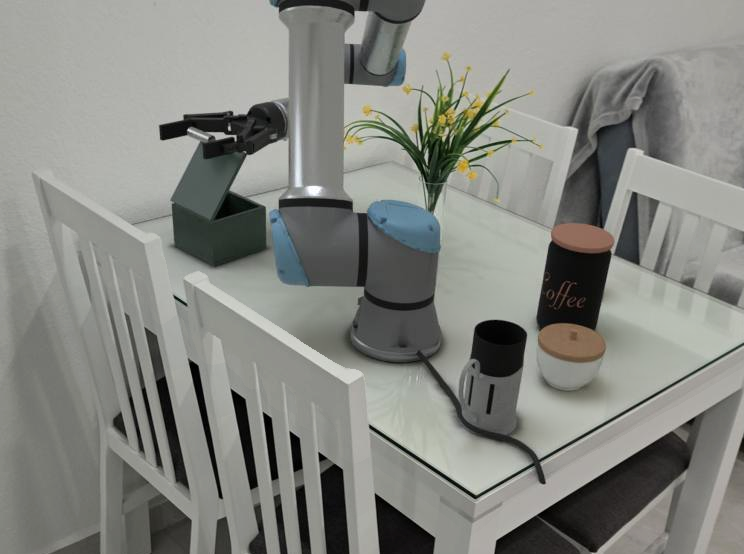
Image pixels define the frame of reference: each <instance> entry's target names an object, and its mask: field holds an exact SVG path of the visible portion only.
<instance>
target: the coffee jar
mask: <svg viewBox="0 0 744 554" xmlns="http://www.w3.org/2000/svg"><path fill="white" fill-rule="evenodd" d="M550 237H551V241H550V242H549V243H548V246H547V252H546V259H545V265H544V269H543V276H542V282H541V287H540V294H539V298H538V299H539V300H538V305H537V311H536V317H535V319H536V324H537V326H538V328H539V330H540V331H541V330H542V329H543V328H544V327H546V326H549V325H552V324H560V323H567V324H575V325H580V326H583V327H587V328H589V329H591V330H593V331H595V332H596V329H597V326H598V321H599V316H600V311H601V307H602V303H603V299H604V292H605V289H606V284H607V279H608V274H609V269H610V265H611V260H612V256H613V255H612V250H611V249H613V246H614V244H615V238H614V236H613V234H611V233H610V232H609V231H607V230H605V229H603V228H601V227H598V226H595V225H591V224H587V223H581V222H580V223H579V222H565V223H561V224H557V225H555V226H554V227H552V228H551V231H550Z"/></svg>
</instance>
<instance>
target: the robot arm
mask: <svg viewBox="0 0 744 554" xmlns="http://www.w3.org/2000/svg"><path fill="white" fill-rule="evenodd" d="M426 1H427V0H268V2H269V4H270V6H272V7H274V8H276V9H278V20H279V21H280V22H281V23H282V24H283V26H285V27H286V28H287V30H288V97H284V98H277V99H272V100H270V101H266V102H260V103H255V104H253V105H252V106H250V108H249V109H248V112H247V113H246V114H245V113H239V114H237V115H235V114H234V111H233V110H227V111H221V112H203V113H186V114H183V115H182V120H177V121H171V122H167V123H163V124H158V128H159V129H158V131H159V140H160V141H168V140H173V139H177V138H181V137H182V138H183V137H186V136H187V137H188V135H187V130H188V128H190V127H194V128H196V129H199V130H201V131H203V132H206V133H223V134H224V135H225V136H229V137H224V138H220V139H216V140H215V141H211V142H206V143H203V159H211V158H215V157H219V156H223V155H227V154H231V153H235V152H236V151H237V152H238V153H243V152H245V153H246V154H247V156H253V155H254V154H255V153H257V152H259V151H260V150H261V151H262V149H264V148H266V147H267V146H269V145H271V144H275V143H278V142H279V141H283V142H287V141H288V179H287V180H288V187H287V189H286V191H284V192H283V193H282V194H281V195H280V196H279V197H278V209H277V208H274V209H273V210H270V211H269V214H268V215H269V222H270V228H271V229H270V230H271V236H272V245H273V252H274V253H273V254H274V261H275V268H276V274H277V279H278V280H279V281H280V282H281V283H282V284H285V285H287V286H300V287H301V286H302V287H303V286H304V287H305V288H310V287H337V288H339V287H343V288H344V287H345V288H347V287H349V288H363V295H362V296H360V297H357V306H358V308H357V310H356V314H355V315H354V317H353V319H352V322H351V325H350V342H351V344H352V345H353V347H354V348H355V349H356V350H357V351H359V352H360V353H361V354H364V355H365V356H367V357H370V358H372V359H374V360H375V359H376V360H380V361H384V362H391V363H410V362H418V361H422V363H423V364H424V365H425V367H426V368H427V369H428V370H429V372H430V373H431V375H432V376H433V377H434V378H435V380H436V381H437V382H438V384H439V385H440V386H441V388H442V389H443V390H444V392H445V393H446V394H447V395H448V397H449V398H450V400H451V402H452V403H453V405H454V407H455V410H456V413H457V416H458V420H459V419H460V421H461V422H462V424H463V425H464V426H465V427H467V428H468V429H469V430H471V431H473V432H475V433H477V434H480V435H479V436H481V435H483V436H482V437H486V438H487V437H488V438H490V439H491V438H492V439H497V440H501V441H505V442H508V443H511V444H513V445H515V446H516V447H518V448H519V449H521V450H522V451H524V452H525V453H526V454H527V455H528V456H529V457H530V459H531V460H532V462H533V464H534V468H535V471H536V474H537V477H538V481H539V483H540V484H541V485H546V484H547V482H546V481H547V480H546V477H545V474H544V470H543V467H542V465H541V462H540V459H539V457H538V455H537V453H536V452H535V451H534V450H533V449H532V448H531V447H529V446H528V445H526V444H525V442H522V441H521V440H519V439H517V438H515V437H513V436H511V435H508V434H507V435H503V434H499V433H494V432H490V431H486V430H482V429H479V428H477V427H475V426H473V425H472V424H470V423H469V422H467V421H466V420H465V418H464V417H463V415H462V407H461V405H460V401H459V398H458V396H456V394H455V393H454V391H453V390H452V389H451V388H450V386H449V385H448V384H447V382H446V381H445V380H444V379H443V377H442V376H441V375H440V372H438V371H437V369H436V368H435V367H434V366H433V364H432V363H431V362H430V360H429V359H428V358H429V357H431V356H433V355H434V354H436V352H438V351H439V349H440V347H441V343H442V342H441V341H442V340H441V339H442V329H441V326H440V323H439V318H438V313H437V309H436V305H435V294H436V293H435V292H436V284H437V275H438V266H439V256H440V251H441V250H442V249H441V248H442V245H441V224H440V222H439V220H438V218H437V217H436V216H435V215H434V214H433V213H432V212H430V211H429V210H427V209H425V208H423V207H422V206H419V205H417V204H415V203H411V202H407V201H404V200H403V201H402V200H396V199H382V200H376V201H373V202H372V203H370V205H369V206H368V208H367V210H366V212H354V199H352V197H351V196H350V195H349V194H347V192H346V191H345V189H344V164H345V163H344V159H345V158H344V157H345V156H344V155H345V154H344V152H345V150H344V149H345V145H344V144H345V85H356V86H357V85H358V86H372V87H373V86H375V87H384V88H388V87H400V86H403V84H404V83H405V79H406V74H407V53H406V50H405V49H404V48H403V47H404V44H405V40H406V39H407V36H408V33H409V31H410V28H411V24H412V22H413V21H414V20H415V19H416V18H417V17H419V16H420V14H421V13H422V10H423V8H424V6H425V4H426ZM355 12H365V13H367V15H366V20H365V26H364V30H363V34H362V38H361V43H360V44H359V43H345V34H346V32H347V31H348V30H349V28H351V27H352V26H353V25H354V24H355V21H356V19H355V18H356V15H355V14H356V13H355ZM229 128H230V129H229ZM234 136H235V137H234ZM460 421H459V422H460ZM462 424H461V425H462ZM475 433H474V434H475ZM477 434H476V435H477Z"/></svg>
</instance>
